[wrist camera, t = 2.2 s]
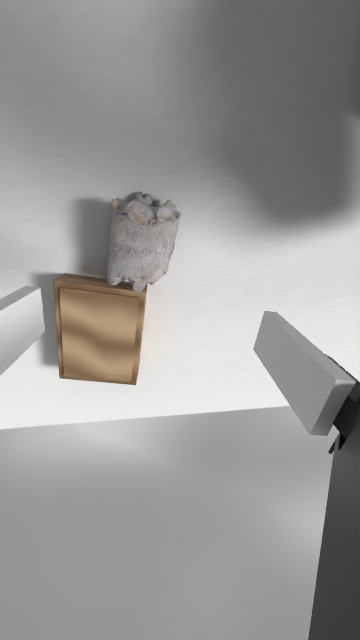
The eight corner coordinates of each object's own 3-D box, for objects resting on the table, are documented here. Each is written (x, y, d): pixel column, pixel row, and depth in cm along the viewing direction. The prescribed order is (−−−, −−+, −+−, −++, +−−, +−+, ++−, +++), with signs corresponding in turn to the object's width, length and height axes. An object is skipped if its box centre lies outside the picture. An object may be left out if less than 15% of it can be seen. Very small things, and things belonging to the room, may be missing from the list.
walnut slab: (65, 273, 34) (52, 280, 31) (147, 284, 36) (145, 293, 32) (69, 363, 41) (58, 379, 37) (138, 370, 42) (135, 386, 38)
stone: (111, 277, 35) (99, 290, 29) (120, 187, 30) (109, 181, 24) (163, 287, 36) (163, 302, 30) (180, 203, 32) (185, 200, 25)
